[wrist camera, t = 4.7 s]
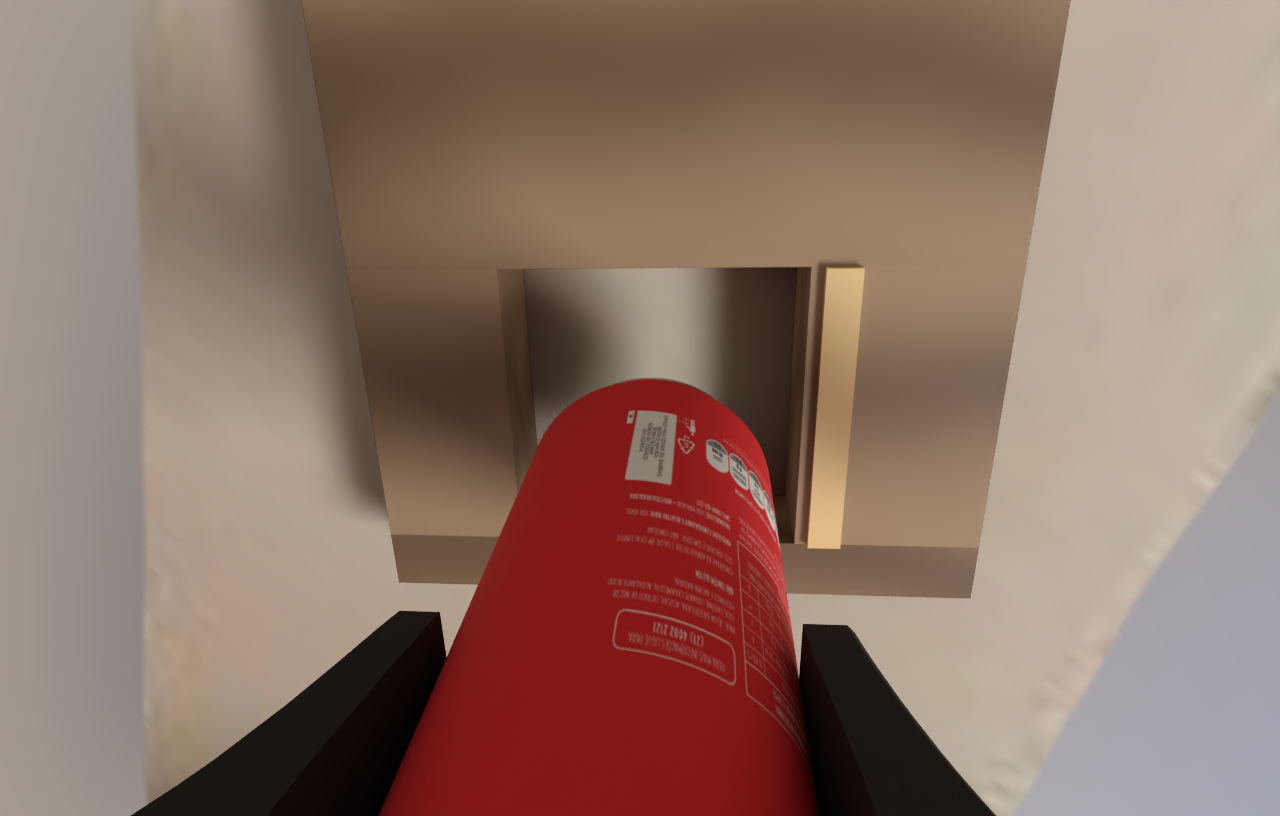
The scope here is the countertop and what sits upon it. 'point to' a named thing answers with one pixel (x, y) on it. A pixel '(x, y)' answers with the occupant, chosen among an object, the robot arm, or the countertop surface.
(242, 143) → the countertop surface
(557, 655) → the beverage can
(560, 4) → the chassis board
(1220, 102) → the countertop surface
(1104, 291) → the countertop surface
